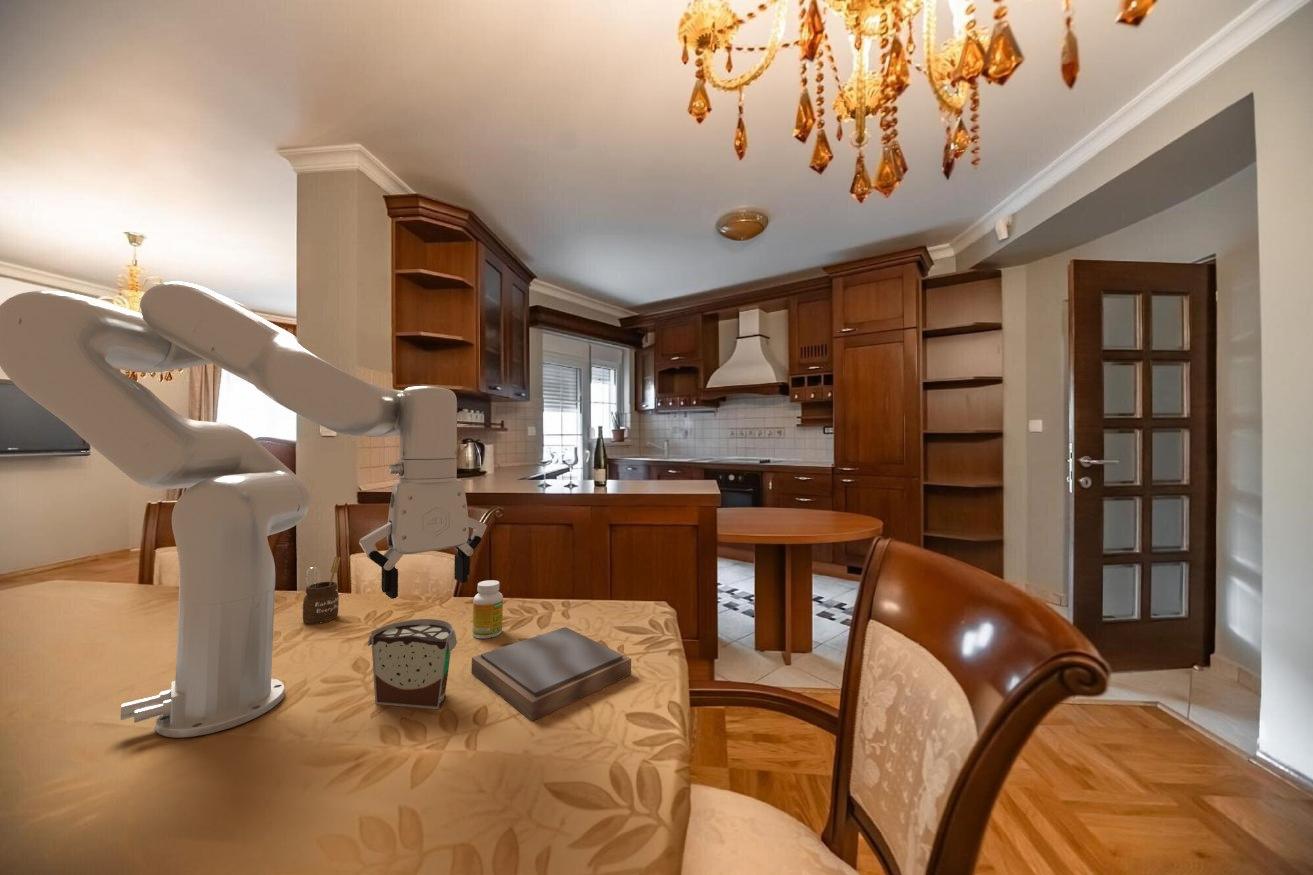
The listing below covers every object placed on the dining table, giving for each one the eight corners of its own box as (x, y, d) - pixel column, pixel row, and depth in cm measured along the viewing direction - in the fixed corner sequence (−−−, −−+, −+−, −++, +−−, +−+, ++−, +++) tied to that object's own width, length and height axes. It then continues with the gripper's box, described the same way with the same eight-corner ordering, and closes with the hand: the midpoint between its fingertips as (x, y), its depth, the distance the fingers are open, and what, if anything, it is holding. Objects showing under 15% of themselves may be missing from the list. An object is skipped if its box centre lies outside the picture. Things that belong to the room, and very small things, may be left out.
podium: (531, 721, 60) (532, 698, 61) (471, 673, 73) (471, 654, 73) (630, 674, 73) (631, 655, 74) (565, 640, 86) (565, 624, 86)
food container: (471, 686, 69) (473, 619, 69) (448, 709, 63) (451, 636, 63) (394, 680, 70) (396, 615, 70) (365, 703, 64) (367, 631, 64)
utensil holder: (294, 622, 92) (297, 562, 92) (325, 612, 98) (327, 555, 98) (316, 626, 90) (318, 565, 90) (346, 615, 96) (348, 558, 96)
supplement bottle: (495, 639, 86) (497, 587, 86) (467, 638, 86) (468, 586, 86) (505, 628, 91) (507, 579, 91) (479, 627, 91) (480, 578, 91)
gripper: (368, 475, 58) (367, 610, 58) (496, 470, 71) (496, 580, 71) (353, 473, 64) (352, 596, 63) (474, 468, 76) (474, 571, 76)
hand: (427, 588), depth 67 cm, fingers open, 9 cm apart
